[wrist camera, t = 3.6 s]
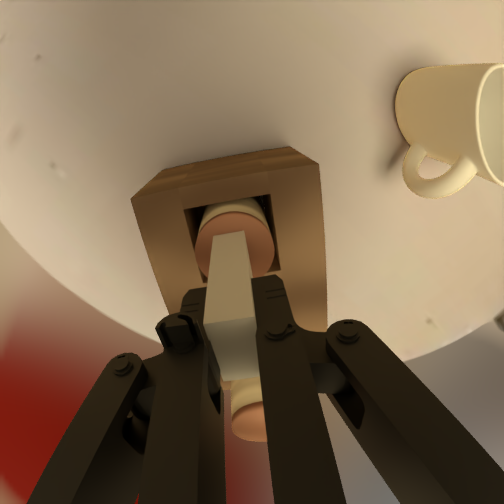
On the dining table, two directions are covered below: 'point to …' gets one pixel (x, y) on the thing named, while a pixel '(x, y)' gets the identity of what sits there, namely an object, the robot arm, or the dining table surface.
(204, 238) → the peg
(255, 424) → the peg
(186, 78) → the dining table surface
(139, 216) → the socket block
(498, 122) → the mug
